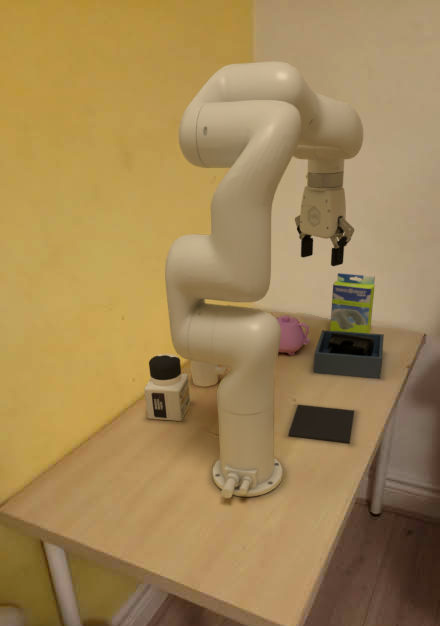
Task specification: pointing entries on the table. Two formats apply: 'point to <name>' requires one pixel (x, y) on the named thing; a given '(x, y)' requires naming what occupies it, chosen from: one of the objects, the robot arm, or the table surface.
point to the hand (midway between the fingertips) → (321, 260)
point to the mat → (322, 423)
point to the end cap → (350, 344)
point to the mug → (206, 373)
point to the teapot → (292, 334)
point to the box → (352, 303)
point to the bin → (348, 358)
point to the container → (167, 389)
